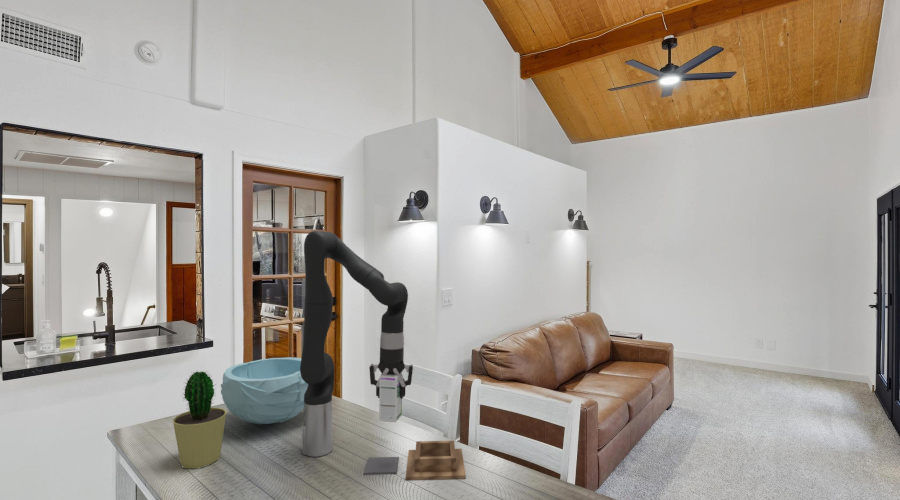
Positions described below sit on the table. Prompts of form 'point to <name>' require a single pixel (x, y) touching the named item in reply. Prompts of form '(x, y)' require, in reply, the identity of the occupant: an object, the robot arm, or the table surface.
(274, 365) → the bowl
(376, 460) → the felt pad
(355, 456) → the table surface
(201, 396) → the potted cactus
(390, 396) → the syrup box
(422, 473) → the collar stand
